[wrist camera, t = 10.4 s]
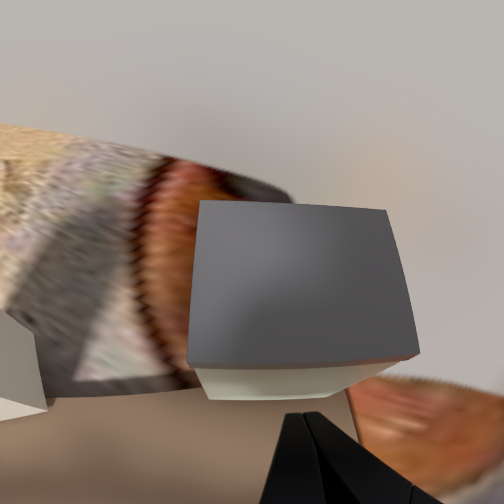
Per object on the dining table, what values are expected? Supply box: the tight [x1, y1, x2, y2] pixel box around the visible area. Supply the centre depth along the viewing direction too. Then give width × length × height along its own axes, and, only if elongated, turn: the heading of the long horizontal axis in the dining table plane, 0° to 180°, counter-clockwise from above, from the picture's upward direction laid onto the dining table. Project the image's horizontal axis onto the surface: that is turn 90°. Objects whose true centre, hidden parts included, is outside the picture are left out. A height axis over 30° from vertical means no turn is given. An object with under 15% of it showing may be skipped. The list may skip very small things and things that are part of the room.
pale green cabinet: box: [187, 200, 420, 400], centre depth 10 cm, size 4×5×8 cm
